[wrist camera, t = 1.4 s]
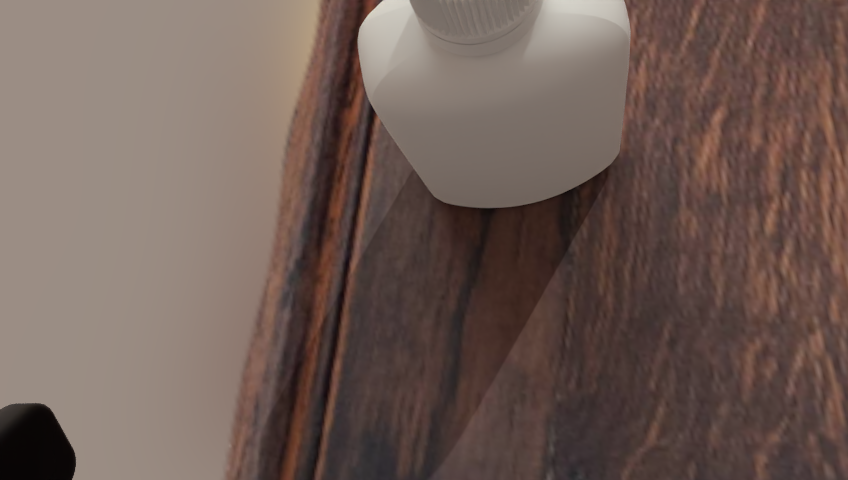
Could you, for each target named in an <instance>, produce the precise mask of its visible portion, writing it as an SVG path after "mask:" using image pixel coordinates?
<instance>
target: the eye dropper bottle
mask: <svg viewBox="0 0 848 480" xmlns="http://www.w3.org/2000/svg"><path fill="white" fill-rule="evenodd" d="M630 34H631V32H630V24H629V19H628V14H627V10H626V6H625V2H624V0H383V1H382V2H381V3H380V4H379V5H378V6H377V7H376V8H375V9H374V10H373V11H372V12H371V13H370V14H369V15H368V16H367V18H366V19H365V21H364V22H363V24H362V25H361V27H360V30H359V35H358V50H359V58H360V64H361V70H362V76H363V81H364V85H365V89H366V93H367V96H368V99H369V101H370V103H371V105H372V106H373V108H374V110H375V112H376V113H377V115H378V117H379V118H380V120H381V121H382V123H383V124H384V126H385V128H386V129H387V131H388V132H389V134H390V135H391V137H392V138H393V139H394V141H395V142H396V144H397V145H398V147H399V148H400V150H401V151H402V152H403V154H404V155H405V157H406V158H407V160H408V161H409V163H410V164H411V165H412V167H413V168H414V170H415V171H416V172H417V174H418V175H419V177H420V178H421V179H422V181H423V182H424V184H425V185H426V186H427V188H428V189H429V191H430V192H431V193H432V195H433V196H434V197H435V198H437V199H439V200H441V201H442V202H444V203H448V204H452V205H457V206H464V207H475V208H504V207H514V206H521V205H526V204H531V203H535V202H538V201H542V200H545V199H548V198H551V197H554V196H557V195H559V194H562V193H564V192H566V191H568V190H571V189H573V188H575V187H577V186H578V185H580V184H582V183H584V182H586V181H587V180H589V179H591V178H592V177H594V176H595V175H597V174H598V173H600V172H601V171H603V170H604V169H605V168H606V167H608V166H609V165H610V164H611V163H612V162H613V161H614V159H615V158H616V157H617V155H618V154H619V151H620V144H621V135H622V126H623V117H624V108H625V98H626V87H627V77H628V66H629V51H630Z"/></svg>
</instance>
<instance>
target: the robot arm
mask: <svg viewBox="0 0 848 480" xmlns="http://www.w3.org/2000/svg"><path fill="white" fill-rule="evenodd" d="M75 467H76V457H75V453H74V450H73V448H72V446H71V444H70V443H69V441H68V439H67V437H66V435H65V433H64V432H63V430H62V428H61V426H60V424H59V423H58V421H57V419H56V417H55V416H54V414H53V412H52V411H51V409H50V408H48V407H47V406H46V405H44V404H39V403H27V404H11V405H8V406H6V407H4V408H2V409H0V480H72V478H73V475H74V472H75Z"/></svg>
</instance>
